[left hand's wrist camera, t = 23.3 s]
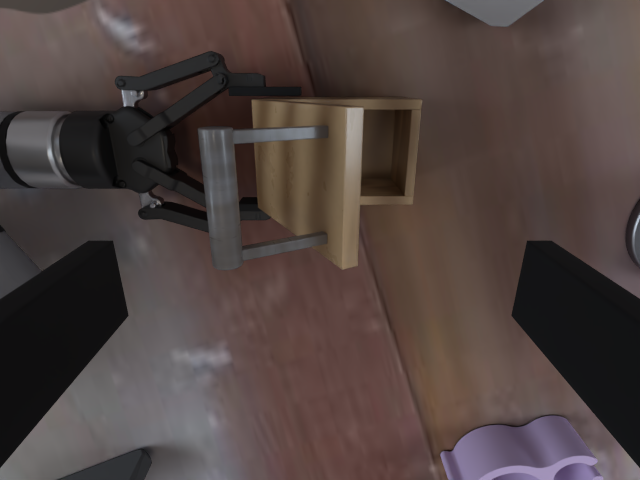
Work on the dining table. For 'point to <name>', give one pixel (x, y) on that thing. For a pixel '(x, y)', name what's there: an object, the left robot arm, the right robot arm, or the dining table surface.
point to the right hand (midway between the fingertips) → (301, 150)
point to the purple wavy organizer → (522, 453)
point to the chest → (383, 145)
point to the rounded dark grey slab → (117, 468)
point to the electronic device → (496, 10)
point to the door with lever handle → (288, 180)
